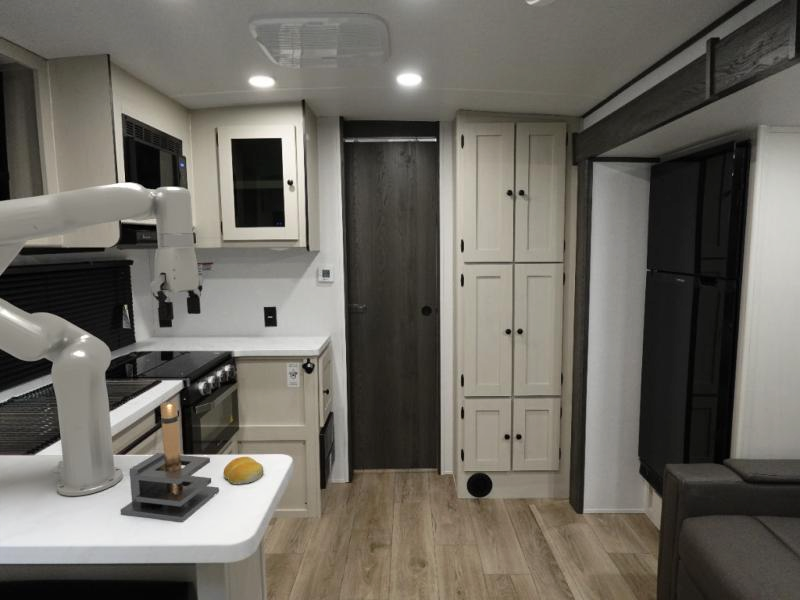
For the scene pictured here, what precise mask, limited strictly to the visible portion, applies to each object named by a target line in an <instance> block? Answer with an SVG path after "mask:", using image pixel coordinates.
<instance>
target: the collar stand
mask: <svg viewBox="0 0 800 600" xmlns="http://www.w3.org/2000/svg"><path fill="white" fill-rule="evenodd" d="M210 462H211V458H210V457H208V456H197V455H185V454H181V466H183V467H182V469H180V470H179V471H177V472H167V471H165V458H164V452H163V453H161V452H157V453H155V454H153V455H151V456H150V457H148V458H146V459H145V460H143V461H142V462H140V463H137V464H136V465H134V466H133V467H131V468H129V472H128V473H129V482H130V484H129V485H130V495H131V502H129V503H128V504H126V505H124V507H122V508H120V515H123V516H132V517H138V518H139V517H140V518H147V519H153V520H155V519H156V520H161V521H162V520H163V521H172V522H180V523H183V522H185V520H187V519H189V518H190V517H191V516H192V515H193V514H194V513H195V512H197V511H198V510H199V509H200V508H201V507H203V506H205V504H206V503H207V502H208V501H210V500H211V499H212V498H213V497H215V496H216V495H217V494H219V492H220V488H219V486H209V485H210V484H211V483H212V478H211V477H207V476H206V477H205V476H195V474H196V473H197V472H198V471H200V470H201V469H203V468H204V467H206V466H207V465H208V464H210ZM182 482H183V490H182V491H181V492H180V493H178V494H173V493H167V484H166V483H172V484H180V483H182ZM215 494H216V495H215ZM214 495H215V496H214Z"/></svg>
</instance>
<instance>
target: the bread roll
mask: <svg viewBox="0 0 800 600" xmlns="http://www.w3.org/2000/svg"><path fill="white" fill-rule="evenodd" d="M263 474H264V466H263V465H262V464H261V463H259V462H258V461H257V460H255V459H254V458H252V457H249V456H239V457H237V458H234V459H232V460H231V461H230V462H229V463H227V464H226V465H225V466H224V469H223V476H224V478H225V479H226V480H227V479H228V480H227V481H228V482H229V483H231V484H232V483H233V484H232V485H240V484H239V483H247V484H250V483H249V482H251V483H253V481H254V482H255V480H256V481H257V480H259V479H260V478H261V477H262V476H263Z"/></svg>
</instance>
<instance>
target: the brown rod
mask: <svg viewBox="0 0 800 600" xmlns="http://www.w3.org/2000/svg"><path fill="white" fill-rule="evenodd" d="M160 415H161V416H160V418H161V419H160V421H161V429H162V430H161V431H162V443H163V444H162V445H163V453H164V458H165V471H167V472H177V471H179V470H180V469H182V468H183V467H182V465H181V455H182V454H181V441H180V430H179V427H180V426H179V414H178V403H177V401H166V402H163V403H161V404H160ZM166 484H167V493H173V494H178V493H180V492H181V491H182V490H183V482H182V483H180V484H172V483H166Z"/></svg>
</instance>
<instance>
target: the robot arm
mask: <svg viewBox="0 0 800 600" xmlns="http://www.w3.org/2000/svg"><path fill="white" fill-rule="evenodd" d="M192 211H193V210H192V196H191V193H190V190H189V189H187V188H185V187H181V186H160V187H157V188H156V189H155V188H154V189H153V188H152V189H151V188H146V187H144V186H143V185H142V184H139V183H137V182H136V183H135V182H131V181H130V182H119V183H111V184H105V185H104V184H103V185H98V186H97V185H96V186H89V187H86V188H79V189H73V190H70V191H69V190H67V191H61V192H57V193H50V194H43V195H37V196H29V197H22V198H16V199H6V200H0V276H1V275H2V274H3V273H4V272H5V270H6V269H7V268H8V267H9V266H10V264H11V263H12V262H13V261H14V259H15V258H16V257H17V255H18V254H19V253H20V252H21V250H22V249H23V248H24V246H25V245H26V244H27V242H28V241H32V240H37V239H38V240H39V239H44V238H50V237H55V236H56V237H57V236H63V235H69V234H73V233H76V232H78V231H79V230H82V229H84V228H88V227H92V226H94V225H95V226H96V225H100V224H107V223H113V222H118V221H125V220H126V221H127V220H131V221H136V222H139V221H141V222H142V221H149V220H154V219H155V221H156V222H155V223H156V233H157V234H156V236H157V237H156V238H157V248H156V250H155V257H154V268H153V269H154V271H153V272H154V275H153V276H154V277H153V278H154V279H153V280H152V281H151V282H150V283H149V287H150V290H151V291H152V295H153V297H154V298H155V301H156V303H158V314H159V315H158V317H159V320H160V321H173V320H174V319H175V317H174V316H175V315H174V302H173V301H171V300H172V298H173V296H174V293H175V294H177V293H184V292H185V293H186V295H187V296H186V308H187V311H186V312H187V314H189V315H199V314H201V311H202V310H201V299H200V298H201V296H202V291H203V283H204V277H202V276H201V275H200V274H199V268H198V266H199V265H198V261H197V256H196V252H195V246H194V244H195V243H194V242H195V241H194V227H193V212H192ZM0 350H2V351H4V352H5V353H8V354H10V355H11V356H13V357H15V358H17V359H19V360H20V361H21V360H22V361H26V362H36V361H40V360H42V359H46V360H48V361H50V362H52V367H51V381H52V386H53V390H54V394H55V398H56V405H57V415H58V423H59V424H58V425H59V433H60V443H61V453H62V454H61V455H62V460H60V461H58V463H57V466H56V467H54V468H53V469H52V473H53V474H59V475H60V477H61V480H59V481H58V483H56V484H57V485H56V490H57V493H58V494H60V495H63V496H67V497H78V496H85V495H90V494H94V493H98V492H100V491H101V492H102V491H103V490H106V489H109V488H112V487H113V486H114V485H117V483H119V482H120V481H121V479H123V476H124V472H123V469H122V468H120V467H118V466H116V465H115V461H114V449H113V437H112V425H111V414H110V403H109V397H108V389H107V388H108V387H107V382H106V371H107V370H108V368H109V367H110V366H111V365H110V364H111V361H112V352H111V350H110V347H109V346H108V345H107V344H106V343H105V342H104V340H103V341H102V340H101V339H100V338H98V337H96V336H94V334H91V333H90V332H88V331H86V330H84V329H82V328H80V327H78V326H77V325H75V324H73V323H71V322H70V321H68V320H66V319H64V318H62V317H60V316H58V315H56V314H53V313H49V312H33V313H29V312H27V311H26V310H25V311H24V310H23V309H21V308H19V307H17V306H15V305H13V304H11V303H10V302H8V301H7V300H4V299H3V298H1V297H0Z"/></svg>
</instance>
